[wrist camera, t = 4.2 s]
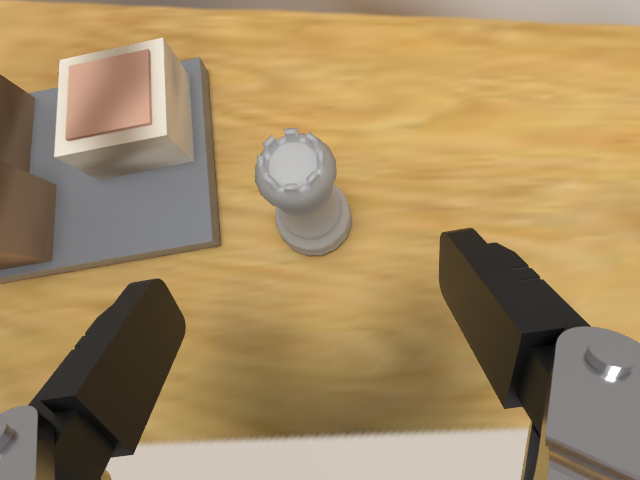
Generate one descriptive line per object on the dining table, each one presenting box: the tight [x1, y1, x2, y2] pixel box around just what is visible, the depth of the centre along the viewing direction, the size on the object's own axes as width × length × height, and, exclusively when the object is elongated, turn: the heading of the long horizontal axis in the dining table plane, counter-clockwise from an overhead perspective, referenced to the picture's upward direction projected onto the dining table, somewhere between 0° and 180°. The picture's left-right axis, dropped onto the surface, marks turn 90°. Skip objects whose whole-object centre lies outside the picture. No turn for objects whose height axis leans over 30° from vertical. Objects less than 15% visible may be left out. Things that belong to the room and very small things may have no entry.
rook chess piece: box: [255, 128, 352, 256], centre depth 15 cm, size 4×4×8 cm
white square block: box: [54, 38, 194, 180], centre depth 19 cm, size 6×6×3 cm
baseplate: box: [0, 57, 221, 284], centre depth 21 cm, size 16×13×1 cm
